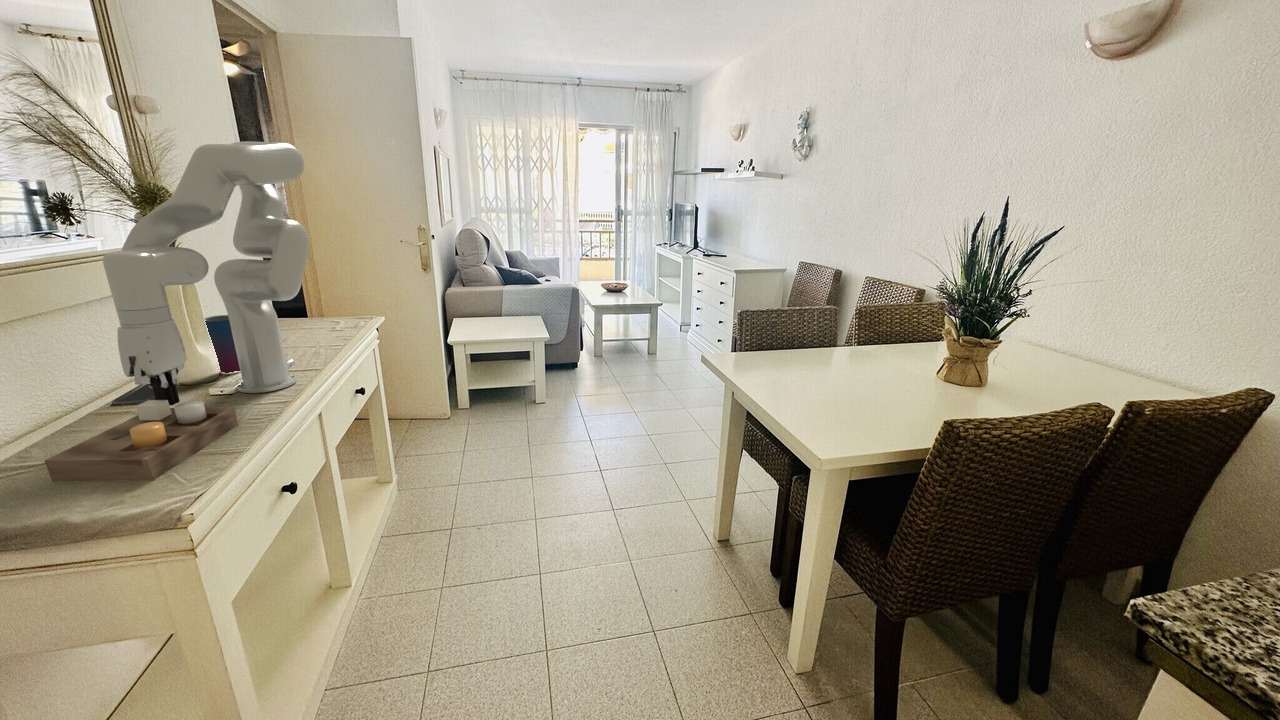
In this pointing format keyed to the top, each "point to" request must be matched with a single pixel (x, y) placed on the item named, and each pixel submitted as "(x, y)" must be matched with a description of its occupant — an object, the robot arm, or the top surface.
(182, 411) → the grey button
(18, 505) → the top surface
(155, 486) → the top surface
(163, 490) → the top surface
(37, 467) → the top surface
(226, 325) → the cup
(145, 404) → the slider knob
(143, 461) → the control panel
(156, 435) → the orange button
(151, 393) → the phone
